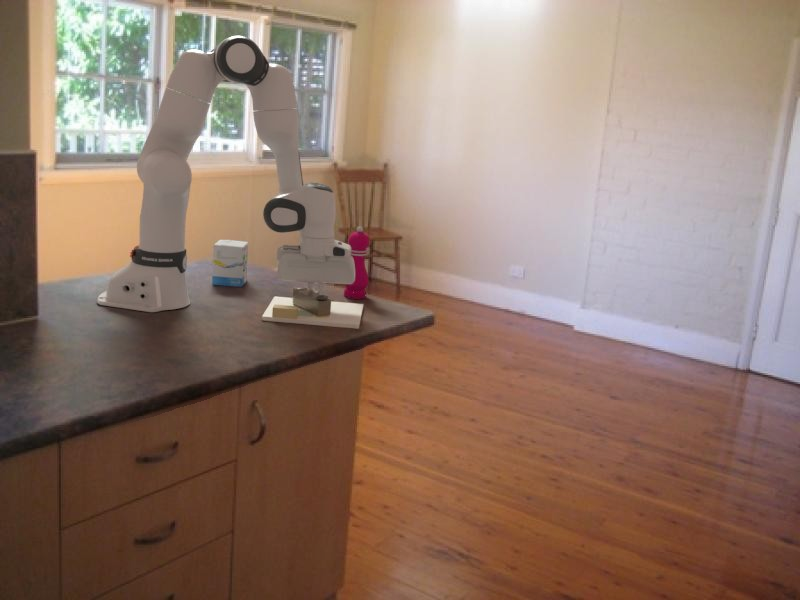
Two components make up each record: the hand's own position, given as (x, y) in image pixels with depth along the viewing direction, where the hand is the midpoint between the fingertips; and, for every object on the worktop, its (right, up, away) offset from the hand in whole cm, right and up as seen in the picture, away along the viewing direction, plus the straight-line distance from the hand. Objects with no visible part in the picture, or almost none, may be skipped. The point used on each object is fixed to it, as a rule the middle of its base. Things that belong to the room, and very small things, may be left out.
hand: (315, 298), depth 229 cm
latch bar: (-1, -2, -4) cm, 5 cm away
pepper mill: (+9, 0, +17) cm, 20 cm away
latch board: (0, -4, -3) cm, 5 cm away
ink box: (-27, +4, +20) cm, 34 cm away
